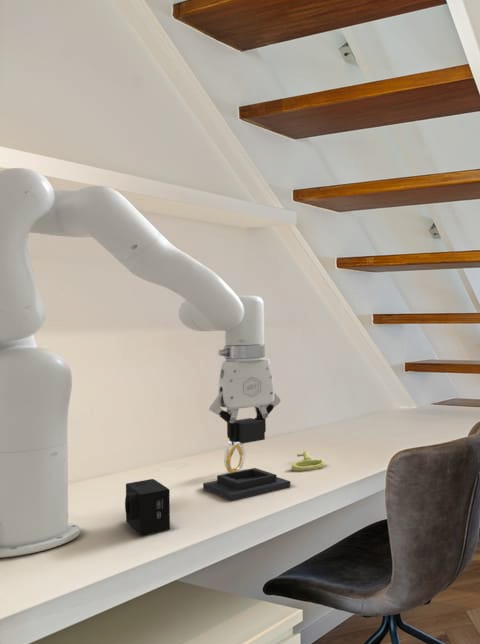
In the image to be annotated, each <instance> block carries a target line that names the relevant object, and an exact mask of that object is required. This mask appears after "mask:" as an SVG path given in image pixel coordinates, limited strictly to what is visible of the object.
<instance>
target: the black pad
mask: <svg viewBox="0 0 480 644" xmlns="http://www.w3.org/2000/svg"><path fill="white" fill-rule="evenodd" d="M236 422H237V423H238V424H239V441H238V442H239V443H244V444H247V443H248V444H249V443H254V442H259V441H265V440H266V434H265V433H266V432H265V423H264V421H262V420H258V419H255V418H253V417H247V418H241V419H240V418H239V419H236Z"/></svg>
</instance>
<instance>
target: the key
mask: <svg viewBox="0 0 480 644" xmlns="http://www.w3.org/2000/svg"><path fill="white" fill-rule="evenodd" d="M296 457H303V459H302V460H299V461H295V462H293V463H292V464H291V470H292V471H293V472H301V471H313V470H319V469H323V468H324V467H325V461H324V460H323V459H311V457H310V455H309V451H306V450H305V451H303V452H300V453H296Z"/></svg>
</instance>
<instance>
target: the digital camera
mask: <svg viewBox="0 0 480 644" xmlns="http://www.w3.org/2000/svg"><path fill="white" fill-rule="evenodd" d="M170 492H171V491H170V489H169V487H167V486H165V485H164V484H162V483H161V482H159V481H158V480H156V479H154V478H149V479H145V480H138V481H132V482H128V483H125V498H124V511H125V516H126V517H125V522H126V523H127V524H128V525H129V526H130V528H131V529H133V531H135V533H137V534H138V535H139V537H142V536H143V537H144V536H147V535H151V534H155V533H160V532H164V531H165V532H166V531H169V530H171V508H170V507H171V505H170V504H171V503H170V502H171V500H170V499H171V497H170V495H171V494H170Z"/></svg>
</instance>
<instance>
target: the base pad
mask: <svg viewBox="0 0 480 644" xmlns="http://www.w3.org/2000/svg"><path fill="white" fill-rule="evenodd" d="M290 487H291V481H290V480H288V479H286V478H282V477H278V476H277V474H276V473H272V472H269V471H266V470H262V469H261V468H260V469H259V468H256V467H253V468H247V469H242V470H239V471H237V472H232V473H230V472H228V473H223V474H218V475H217V476H216V480H212V481H206V482H203V483H202V488H203V490H205V491H207V492H210V493H213V494H215V495H217V496H220V497H222V498H224V499H227V500H229V501H231V502H234V501H236V500H237V501H238V500H241V499H245V498H249V497H254V496H258V495H262V494H266V493H271V492H274V491H279V490H283V489H287V488H288V489H289V488H290Z"/></svg>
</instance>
